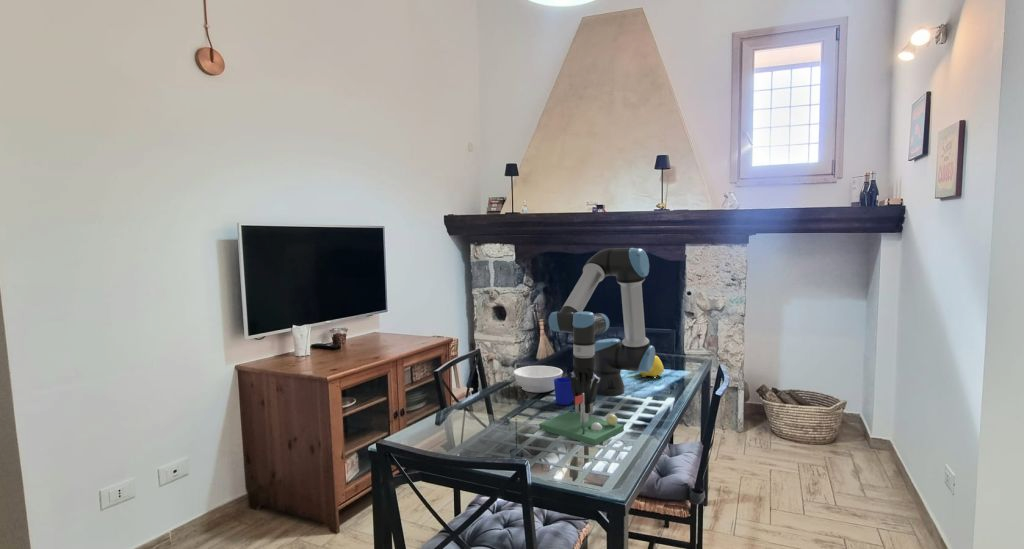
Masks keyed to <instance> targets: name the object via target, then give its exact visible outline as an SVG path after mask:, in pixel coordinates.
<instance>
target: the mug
mask: <svg viewBox="0 0 1024 549" xmlns="http://www.w3.org/2000/svg"><path fill="white" fill-rule="evenodd" d="M554 387H555V389H554V395H555V403H556V404H557V405H560V406H569V405H571V404H573V400H574V397H573V392H572V387H571V382H570V379H569V377H564V376H563V377H562V376H561V378H556V379H554Z"/></svg>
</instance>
